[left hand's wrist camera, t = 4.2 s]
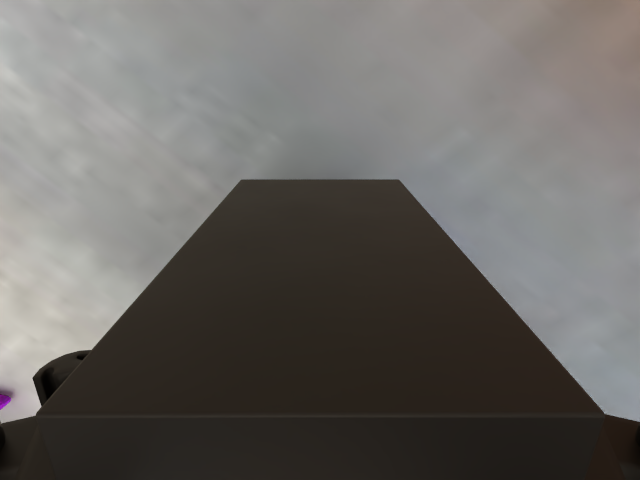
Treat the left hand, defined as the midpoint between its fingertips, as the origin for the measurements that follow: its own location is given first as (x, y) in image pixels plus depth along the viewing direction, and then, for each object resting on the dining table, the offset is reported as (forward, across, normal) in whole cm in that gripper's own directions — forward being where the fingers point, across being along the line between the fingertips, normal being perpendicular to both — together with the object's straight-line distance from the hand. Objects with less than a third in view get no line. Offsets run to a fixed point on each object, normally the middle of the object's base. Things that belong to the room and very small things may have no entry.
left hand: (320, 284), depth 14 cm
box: (+3, 0, -7) cm, 7 cm away
